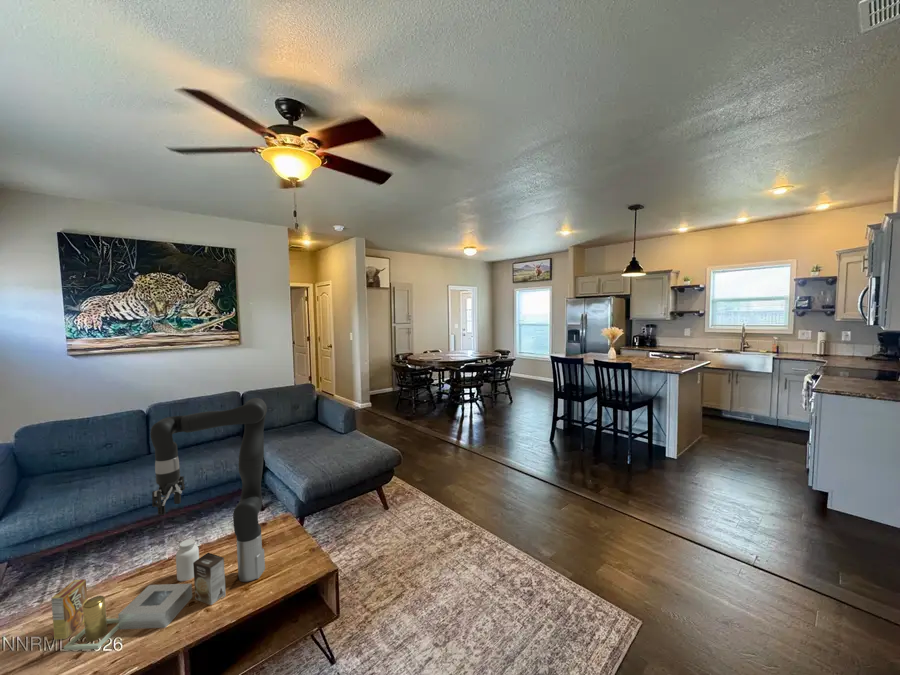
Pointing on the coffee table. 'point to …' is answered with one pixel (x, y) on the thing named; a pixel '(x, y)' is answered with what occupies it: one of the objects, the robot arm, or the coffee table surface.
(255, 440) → the robot arm
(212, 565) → the coffee box
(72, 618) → the candy box
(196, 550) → the pill bottle
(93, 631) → the gold shiny round cylinder
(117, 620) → the tray
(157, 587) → the housing
